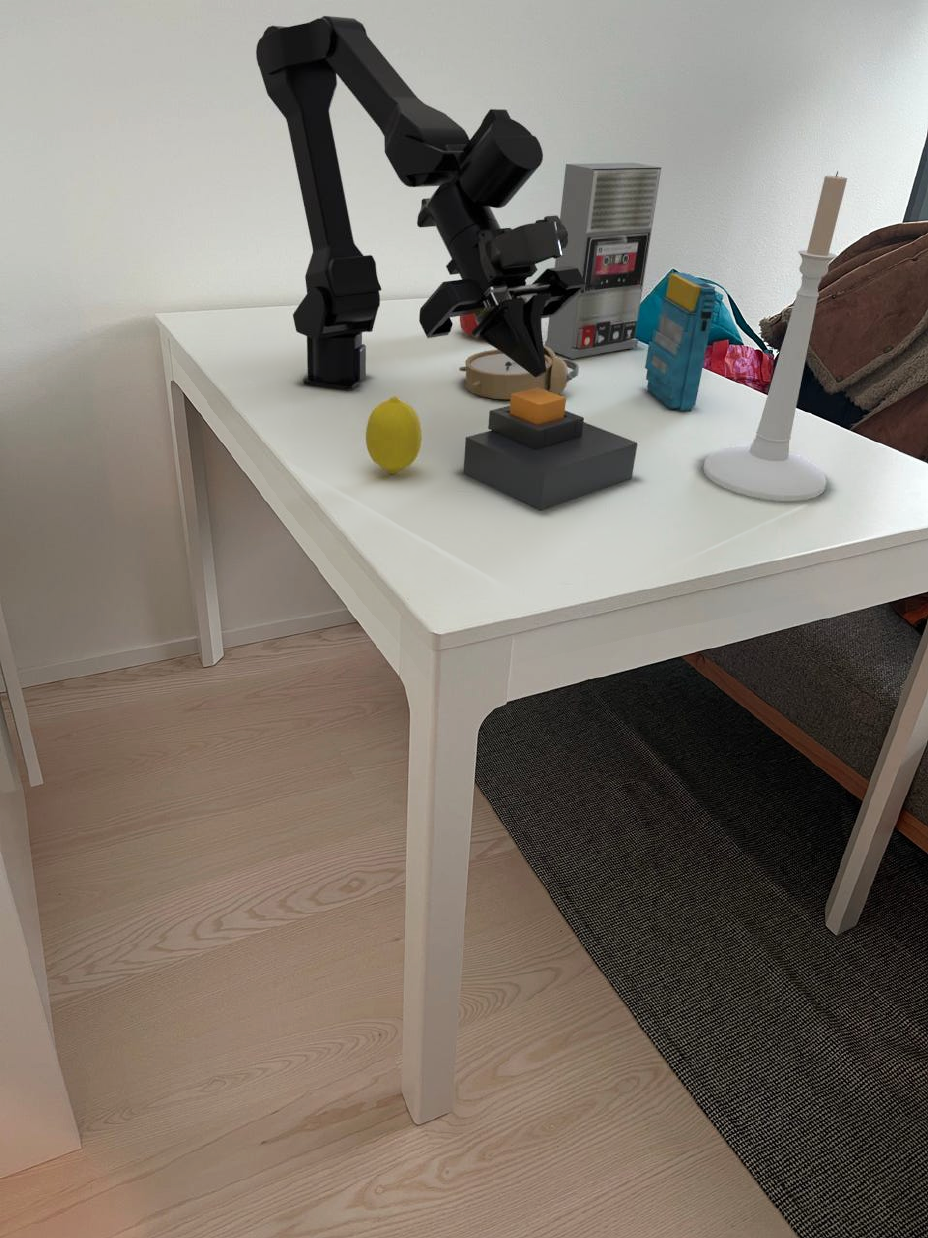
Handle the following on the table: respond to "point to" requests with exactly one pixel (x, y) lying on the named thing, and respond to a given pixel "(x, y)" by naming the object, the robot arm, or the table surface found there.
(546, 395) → the key
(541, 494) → the push button
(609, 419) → the table surface
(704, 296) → the handheld gaming console
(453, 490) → the table surface
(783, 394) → the candlestick
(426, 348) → the table surface
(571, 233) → the cassette tape recorder
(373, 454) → the lemon
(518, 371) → the alarm clock
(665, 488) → the table surface
